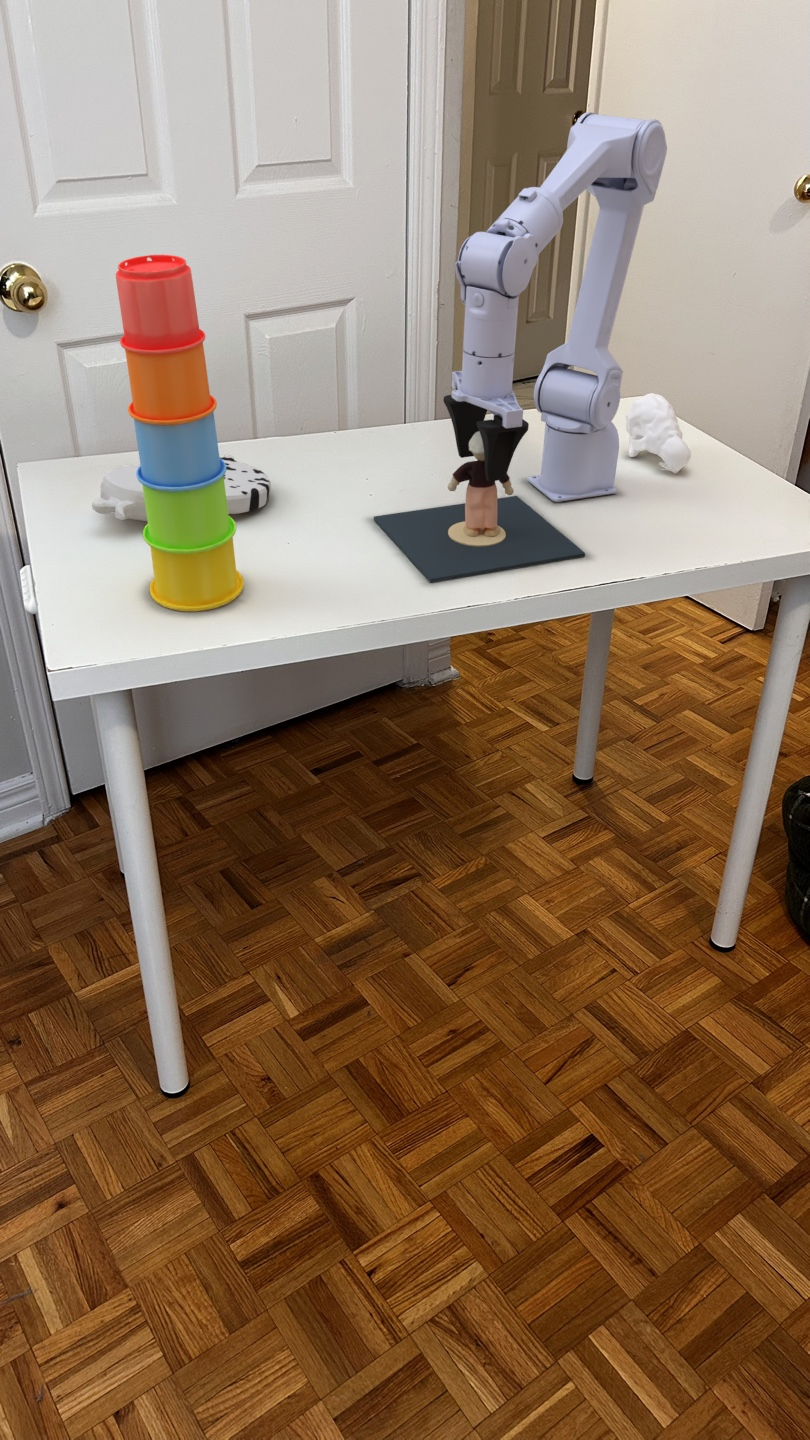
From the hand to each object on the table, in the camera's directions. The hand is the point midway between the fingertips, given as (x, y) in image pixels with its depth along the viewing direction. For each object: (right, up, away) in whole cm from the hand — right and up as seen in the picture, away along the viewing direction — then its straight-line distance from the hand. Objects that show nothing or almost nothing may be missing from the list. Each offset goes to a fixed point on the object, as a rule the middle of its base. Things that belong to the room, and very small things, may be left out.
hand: (481, 467), depth 132 cm
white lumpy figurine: (+27, +7, +27) cm, 39 cm away
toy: (-37, -2, +11) cm, 39 cm away
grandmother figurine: (0, -7, +5) cm, 9 cm away
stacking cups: (-32, -15, -8) cm, 36 cm away
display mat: (0, -7, +5) cm, 9 cm away
